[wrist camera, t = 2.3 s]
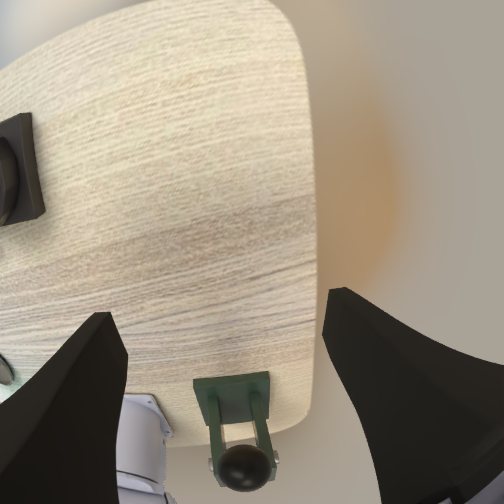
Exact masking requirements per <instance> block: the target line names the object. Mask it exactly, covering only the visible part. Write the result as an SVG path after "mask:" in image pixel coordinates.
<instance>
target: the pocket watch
mask: <svg viewBox="0 0 504 504" xmlns="http://www.w3.org/2000/svg"><path fill="white" fill-rule="evenodd" d="M12 381H13V375H12V373H11V371H10V369H9V367H8V366H7V365H6V363H5V362H4V361H3V360H2V359H1V358H0V384H3V385H11V384H12Z"/></svg>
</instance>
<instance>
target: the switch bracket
mask: <svg viewBox="0 0 504 504" xmlns="http://www.w3.org/2000/svg"><path fill="white" fill-rule="evenodd" d="M193 388H194V391H195V394H196V398H197V401H198V403H199V406H200V409H201V412H202V415H203V418H204V421H205V424H206V426H209V431H210V443H211V453H212V458H209V468H210V471H211V472H214V476H215V478H216V480H217V481H218V483H219V485H220V487H226V486H225V485H224V484H223V483H222V481H221V480H220V479H219V477H218V474H217V462H218V460H219V458H220V456H221V455H222V454H223V453H224V452H225V451H226V444H225V436H224V427H223V425H225V424H234V423H243V422H251V421H252V424H253V430H254V435H255V440H256V445H257V448H259V449H261V450H262V451H264V452H265V453H266V454H267V455H268V457H269V458H270V461H271V464H272V474H271V477H270V479H269V480H268V481H273V480H275V475H276V469H277V466H276V464H279V457H278V453H277V451H276V450H274V451H273V449H272V445H271V441H270V436H269V432H268V427H267V423H266V419H269V396H270V377H269V373H268V371H266V372H259V373H252V374H244V375H236V376H226V377H216V378H205V379H193Z"/></svg>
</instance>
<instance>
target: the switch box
mask: <svg viewBox="0 0 504 504" xmlns="http://www.w3.org/2000/svg"><path fill="white" fill-rule="evenodd" d="M43 213H45V208H44V204H43V199H42V195H41V190H40V185H39V179H38V173H37V167H36V161H35V154H34V145H33V136H32V125H31V113H30V112H29V113H20V114H17V115H15V116H13V117H11V118H9V119H7V120H5V121H3V122H1V123H0V227H2V226H6V225H10V224H15V223H19V222H24V221H28V220H33V219H37V218H38V217H39V216H41V215H42V214H43Z"/></svg>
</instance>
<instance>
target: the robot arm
mask: <svg viewBox="0 0 504 504" xmlns="http://www.w3.org/2000/svg"><path fill="white" fill-rule="evenodd" d="M322 336H323V339H324V342H325V345H326V348H327V351H328V354H329V356H330V359H331V361H332V363H333V365H334V367H335V369H336V371H337V373H338V375H339V377H340V379H341V381H342V383H343V385H344V387H345V389H346V391H347V393H348V395H349V397H350V399H351V401H352V403H353V405H354V407H355V409H356V411H357V414H358V416H359V419H360V421H361V424H362V427H363V430H364V433H365V436H366V439H367V442H368V446H369V449H370V452H371V456H372V459H373V463H374V467H375V471H376V476H377V480H378V485H379V490H380V496H381V502H382V504H504V365H500V364H496V363H492V362H488V361H485V360H482V359H478V358H475V357H473V356H470V355H467V354H464V353H462V352H459V351H456V350H454V349H452V348H449V347H447V346H445V345H443V344H441V343H439V342H437V341H434V340H432V339H430V338H428V337H427V336H424V335H423V334H421V333H419V332H417V331H416V330H414V329H412V328H410V327H409V326H407V325H405V324H404V323H402V322H400V321H399V320H397V319H395V318H394V317H392V316H390V315H389V314H388V313H386V312H384V311H383V310H381V309H380V308H378V307H377V306H375V305H374V304H372V303H371V302H369V301H368V300H366V299H364V298H363V297H361V296H360V295H358V294H356V293H355V292H353V291H352V290H350V289H348V288H346V287H342V288H336V289H330V290H329V294H328V301H327V308H326V314H325V320H324V326H323V332H322ZM127 367H128V353H127V351H126V349H125V347H124V344H123V342H122V340H121V337H120V335H119V333H118V330H117V328H116V325H115V323H114V320H113V318H112V315H111V312H95V313H94V314H92V315H91V316H90V317H89V318H88V319H87V320H86V321H85V322H84V323H83V324H82V325H81V326H80V327H79V328H78V329H77V330H76V332H75V333H74V334H73V335H72V336H71V337H70V338H69V339H68V340H67V341H66V342H65V343H64V344H63V346H62V347H61V348H60V349H59V350H58V351H57V352H56V353H55V354H54V355H53V356H52V357H51V358H50V359H49V360H48V361H47V362H46V363H45V364H44V365H43V367H42V368H41V369H40V370H39V371H38V372H37V373H36V374H35V375H34V376H33V377H32V378H31V379H30V380H28V381H27V382H26V383H25V384H24V385H23V386H22V387H21V388H20V389H18V390H17V391H16V392H15V393H14V394H13V395H12V396H10V397H9V398H8V399H6V400H5V401H4V402H2V403H1V404H0V504H177V503H176V501H175V499H174V498H173V497H172V496H171V494H170V493H168V492H164V485H163V482H164V480H165V478H166V437H173V436H174V433H173V431H172V429H171V428H170V426H169V424H168V423H167V421H166V419H165V417H164V415H163V414H162V412H161V410H160V408H159V406H158V404H157V402H156V401H155V399H154V397H153V396H152V395H139V394H124V392H125V386H126V381H127Z"/></svg>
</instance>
